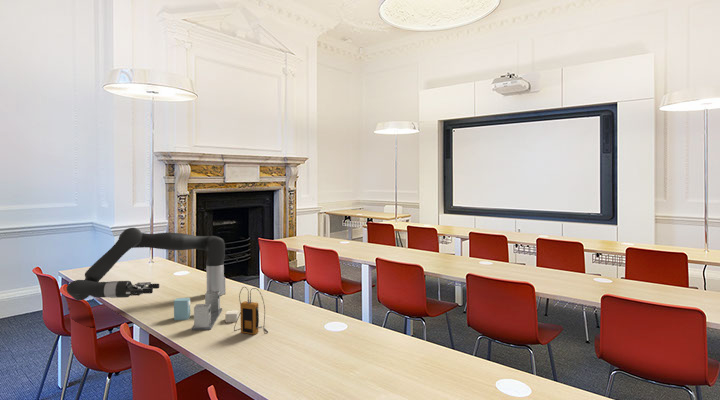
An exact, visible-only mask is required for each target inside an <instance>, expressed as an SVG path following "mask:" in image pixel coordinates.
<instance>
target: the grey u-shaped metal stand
mask: <svg viewBox="0 0 720 400" xmlns="http://www.w3.org/2000/svg"><path fill="white" fill-rule="evenodd" d="M222 312H223V308H222V307H221V296H220V291H207V290H206V292H205V293H204V303H199V304H197V303H196V305H194V306H193V323H194V324H193V326H192V327H191V331H193V332H194V331H208V330H209V331H210V330H212V329H213V327H214V326H215V323H216V322H217V320H218V318H219V317H220V315H221V314H222Z"/></svg>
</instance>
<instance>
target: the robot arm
mask: <svg viewBox="0 0 720 400" xmlns="http://www.w3.org/2000/svg"><path fill="white" fill-rule="evenodd" d="M133 248H134V249H136V248H138V249H139V248H143V249H144V248H147V249H148V248H149V249H158V250H168V251H188V250H201V251H207V252H208V253H207V259H206V262H205V263H206V265H205V266H206V267H205V269H206V292H207V291H220V297H221V296H223V295H225V294H226V289H227V288H226V276H225V274H224V273H225V266H224V262H225V259H226V244H225V240H224V239H223V238H221V237H220V236H216V235H204V236H203V235H192V234H187V233H180V232H157V233H145V232H141V230H140V229H139V228H136V227H129V228H126V229H124V230H123V231H122V232H121V233H120V234H119V236H118V240H116V242H115V243H114V244H113V245H112V246H111V248H109V250H108V251H106V253H104V254H103V255H102V256H101V257H99V259H97V261H95V262H94V263H93V264H92V265H91V266H90V267H89V268H88V269H87V270H86V271H85V273H84V279H76V280H72V281H71V282H69V283H68V284H67V285H66V292H67V294H68V295H70V296H71V297H72V299H74V300H76V301H83V300H86V299H87V298H89V297H90V296H91V297H93V298H99V299H102V298H108V299H109V298H110V299H115V298H117V299H118V298H121V299H123V298H129V297H131V296H132V297H133V296H141V295H143V294H145V295H146V294H148V295H149V294H153V293H154V290H153V289H159V288H160V283H152V282H150V281H149V282H144V281H143V282H137V283H134V284H133V283H132V282H131V281H130V280H112V281H111V280H110V281H101V280H102V279H103V278H104V277H105V276H106V274H107V273H108V272H110V270H111V269H112V268H113V267H114V266H115V265H116V263H117V262H118V261H120V259H121V258H122V257H123V256H124V255H125V254H126V253H128V251H130V250H132V249H133Z"/></svg>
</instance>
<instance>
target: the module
mask: <svg viewBox="0 0 720 400" xmlns="http://www.w3.org/2000/svg"><path fill="white" fill-rule="evenodd" d="M190 317H191V297H178V298H175V300H173V319H174V321H185V320H189V318H190Z"/></svg>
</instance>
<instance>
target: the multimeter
mask: <svg viewBox="0 0 720 400" xmlns="http://www.w3.org/2000/svg"><path fill="white" fill-rule="evenodd" d="M244 288H245V289H246V290H247V301H243V302H241V292H242V290H243V289H244ZM255 289H256V290H257V291H258V292H259V294H260V296H261V299H262V301H263V302H262V303H263V308H264V315H263V316H264V317H263V324H265V320H266V306H265V301H264V298H263V295H262V293H261V291H260V290H259V289H258V288H256V287H253V288H251V289H250V291H249V289H248V287H247V286H243V287H241V289H240V292H239V296H238V297H239V298H238V299H239V304H240V311H239V313H238V319H237V321H236V322H235V324H234V328H233V331H234V332H236V331H239V330H240V333H242V334H248V335H253V336H254V335H257V334H258V333H259V329H260V328H262V329H263V333H264V334H268V333H269V331H268V329H266V328H265V327H266V325H263V326H262V325H261V326H259V325H260V324H259V322H260V320H259V318H260V316H259V315H260V314H259V303H258V302H252V296H251V294H252V293H251V292H252V290H255ZM239 319H240V328H238V329H235V328H236V325H237V323H238V320H239ZM265 331H266V332H265Z"/></svg>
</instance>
